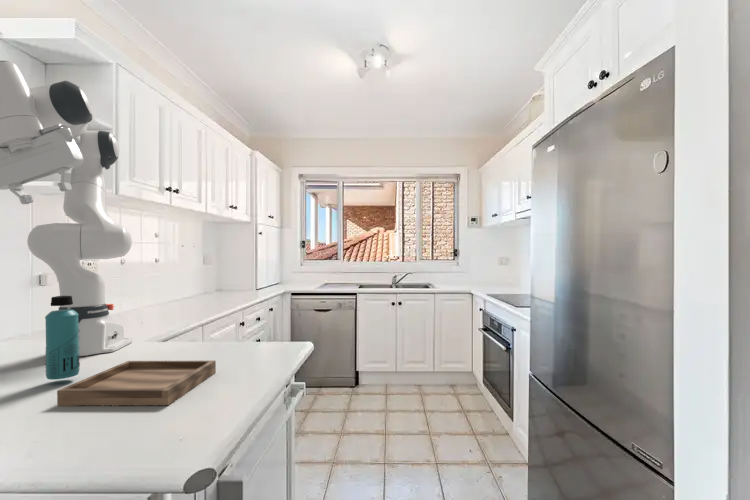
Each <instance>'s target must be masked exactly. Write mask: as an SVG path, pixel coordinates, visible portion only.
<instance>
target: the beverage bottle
mask: <svg viewBox="0 0 750 500" xmlns="http://www.w3.org/2000/svg"><path fill="white" fill-rule="evenodd" d="M72 304H73V301H72V296H60V295H57V296H51V300H50V306H51V307H60V306H64V305H72ZM78 316H79V314H78V313H77V312H76V311H74V310H59V309H57V310H51V311H50V312H48V314H46V315H45V317H44V318H45V360H44V361H45V362H44V363H45V364H44V365H45V372H44V373H45V377H46V379H47V380H63V379H69V378H73V377H75V376H77V375H79V373H80V371H81V370H80V369H81V367H80V366H81V361H80V357H81V356H80V353H79V341H80V340H79V334H80V333H79V326H78Z"/></svg>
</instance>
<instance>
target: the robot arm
mask: <svg viewBox="0 0 750 500" xmlns="http://www.w3.org/2000/svg"><path fill="white" fill-rule="evenodd" d="M92 121H93V114H92V106H91V103H90V100H89V98H88V97H87V95H86V93H85V92H84V91H83V90H82V89H81V87H80V86H78V85H77V84H75V83H74V82H71V81H68V80H63V81H58V82H55V83H52V84H47V85H43V86H36V87H29V84H28V83H27V80H26V79H25V77H24V75H23V73H22V72H21V70H20V68H19V66H17V64H16V63H14V62H11V61H9V60H0V190H4V191H5V190H10V192H12V194H14V195H15V196H16V197H17V198H18V199H19V202H20V204H22V205H29V204H32V203H34V199H33V196H32V194H27V193H26V192H24V189H25V188H24V186H23V185H24V184H27V183H31V182H34V181H37V180H39V179H42V178H43V179H44V178H46V177H48V176H51V175H55V174H58V175H60V182H59V183H57V186H58V187H59V191H61V192H64V197H63V207H62V208H63V211H64V214H65V215H66V216H67V217H68V218H70V220H72V221H73V223H71V222H69V223H68V222H58V223H57V222H54V223H53V222H52V223H46V224H45V223H44V224H39V225H36V226H35V227H33V228H32V229H31V231H30V232H29V234H28V236H27V242H26V243H27V246H28V249H29V251H30V252H31V254H32V255H34V256H35V257H36V258H37V259H39V260H42V261H43V262H44V263H45V264H46V265H47V266H49V268H50V269H51V270H52V271H53V273H54V275H55V276H56V278H57V282H58V289H59V296H72V301H73V304H72V305H64V306H58V310H74V311H76V312H77V313H78V314H79V316H78V326H79V333H80V334H79V340H80V341H79V353H80V356H79V357H84V356H91V355H97V354H105V353H113V352H116V351H117V350H119V349H122V348H123V347H126V346H127V345H129V344H131V343H133V339H132V338H128V337H127V338H126V337H125V330H124V325H123V324H121V323H120V322H118V321H117V320H116V319H114V318H113V317H112V316H111V315H110V312H109V311H113V310H114V308H115V304H114V303H105V302H106V301H105V300H106V298H105V294H106V293H105V291H106V289H105V279H104V278H103V277H102V276H101V275H100V274H98V273H96V272H94V271H92V270H89V269H86V268H84V267H83V266H81V263H80V262H81V261H82V260H112V259H116V258H121V257H125V256H126V255H127V254H128V253H129V252H130V250H131V248H132V245H133V240H132V236H131V233H130V232H129V230H128V229H127V228H126V227H124V226H122V225H120V224H119V223H117V222H116V221H114V220H113V219H112V218H111V216H110V215H109V214H108V211H107V186H106V179H105V175H104V174H103V173H104V172H103V169H105V170H110V168H111V166H112V165H114V164H115V163H116V162H117V161H118V158H119V154H120V145H119V143H118V142H119V141H118V140H117V138H116V136H115V135H114V134H113V133H111V132H109V131H106V130H97V131H96V130H88V126H89V123H90V122H92ZM74 222H75V223H74Z"/></svg>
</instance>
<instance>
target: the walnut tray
mask: <svg viewBox="0 0 750 500" xmlns="http://www.w3.org/2000/svg"><path fill="white" fill-rule="evenodd" d="M216 366H217V364H216V360H126V361H125V362H121V363H120V364H118V365H115V366H112V367H110V368H108V369H105V370H103V371H101V372H97V373H95V374H93V375H91V376H88V377H86V378H83V379H82V380H79V381H76V382H75V383H72V384H70V385H68V386H67V385H66V386H65V387H62V388H59V389H57V392H56V395H57V397H56V399H57V402H56V405H57V407H59V406H60V407H77V406H76V405H101V406H100V407H105V406H104V405H107V406H106V407H109V406H108V405H112V406H111V407H119V406H118V405H169V404H170V405H172V404H173V403H174V402H176V401H177V400H179V399H180V398H182V397H183V396H185V395H186V394H188V393H189V392H190V391H192V390H193V389H195V388H196V387H197V386H199V385H200V384H202V383H204V381H206V380H207V379H210V377H212V376H213V375H215V374H216V372H217V371H216V369H217V367H216ZM178 398H179V399H178ZM175 400H176V401H175ZM171 403H172V404H171ZM73 405H74V406H73ZM115 405H116V406H115ZM170 405H169V406H170Z"/></svg>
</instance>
